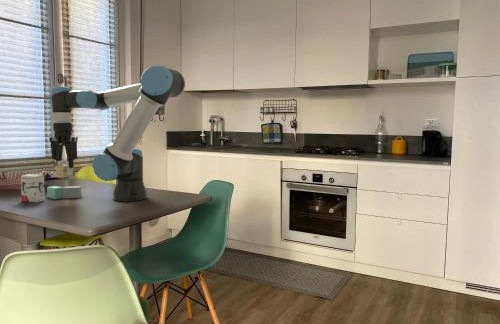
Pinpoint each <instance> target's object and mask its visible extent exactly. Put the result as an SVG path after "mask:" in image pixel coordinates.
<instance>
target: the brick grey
mask: <svg viewBox="0 0 500 324" xmlns="http://www.w3.org/2000/svg"><path fill="white" fill-rule="evenodd" d="M81 197H82V186H80V185H78V186H76V185H75V186H74V185H73V186H64V187H63V198H62V199H79V198H81Z"/></svg>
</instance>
